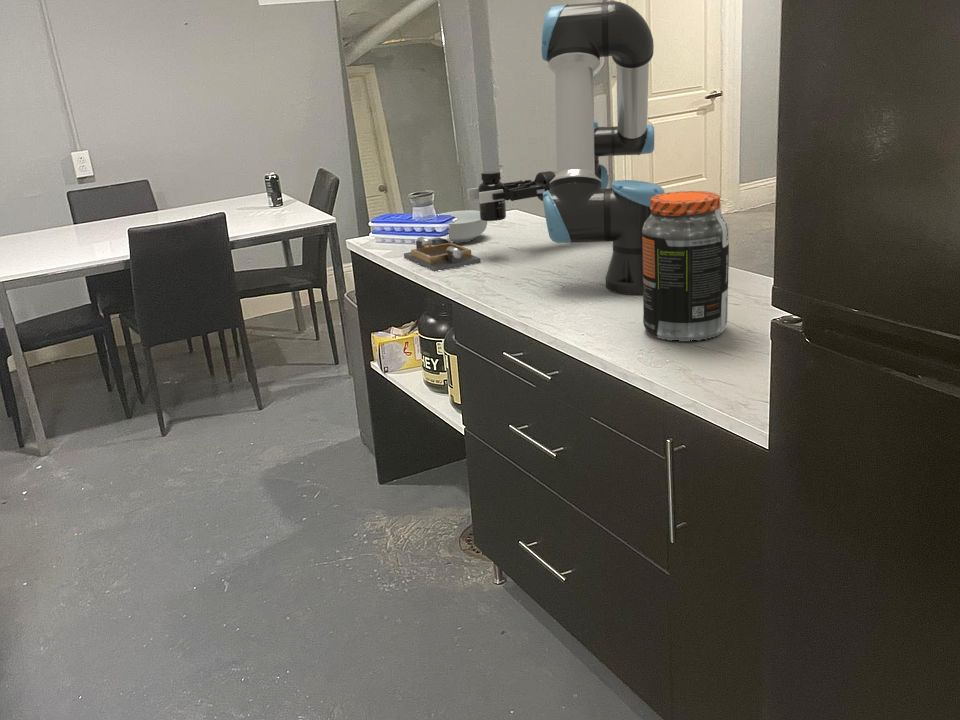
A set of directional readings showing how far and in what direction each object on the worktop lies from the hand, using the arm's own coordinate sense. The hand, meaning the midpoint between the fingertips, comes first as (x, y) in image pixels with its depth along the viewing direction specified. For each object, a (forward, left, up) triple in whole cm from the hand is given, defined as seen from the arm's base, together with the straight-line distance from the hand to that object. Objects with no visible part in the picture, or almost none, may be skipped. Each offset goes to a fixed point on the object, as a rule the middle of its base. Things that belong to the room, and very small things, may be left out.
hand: (473, 196), depth 230 cm
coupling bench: (+5, +9, -17) cm, 20 cm away
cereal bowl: (+27, +1, -17) cm, 32 cm away
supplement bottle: (+1, -5, -7) cm, 8 cm away
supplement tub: (-72, -29, -17) cm, 79 cm away
